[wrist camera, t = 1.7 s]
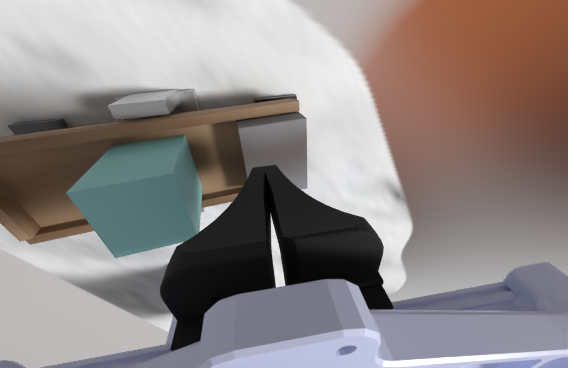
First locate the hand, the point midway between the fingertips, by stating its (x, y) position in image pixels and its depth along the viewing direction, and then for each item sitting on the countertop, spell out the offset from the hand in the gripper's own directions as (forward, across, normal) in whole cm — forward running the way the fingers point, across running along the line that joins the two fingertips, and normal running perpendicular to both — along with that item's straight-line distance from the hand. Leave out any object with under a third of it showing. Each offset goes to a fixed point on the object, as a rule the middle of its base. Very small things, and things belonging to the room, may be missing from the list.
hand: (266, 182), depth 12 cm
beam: (+5, +6, 0) cm, 8 cm away
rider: (+3, +6, 0) cm, 7 cm away
